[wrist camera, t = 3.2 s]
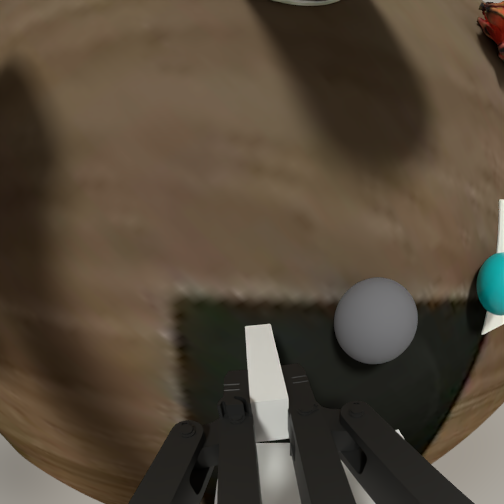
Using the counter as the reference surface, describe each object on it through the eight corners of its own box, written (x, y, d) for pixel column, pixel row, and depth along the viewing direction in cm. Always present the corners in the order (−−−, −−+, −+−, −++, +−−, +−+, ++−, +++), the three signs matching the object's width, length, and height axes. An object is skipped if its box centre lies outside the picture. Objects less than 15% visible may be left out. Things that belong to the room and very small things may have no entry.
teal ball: (469, 249, 18) (514, 266, 13) (500, 243, 19) (540, 257, 13) (461, 307, 20) (499, 333, 14) (493, 296, 20) (528, 316, 15)
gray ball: (322, 272, 18) (355, 306, 13) (393, 262, 18) (440, 288, 13) (323, 343, 19) (348, 390, 14) (388, 329, 19) (424, 367, 14)
